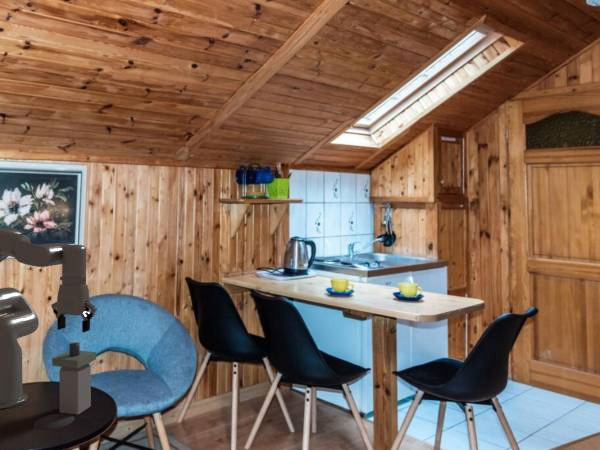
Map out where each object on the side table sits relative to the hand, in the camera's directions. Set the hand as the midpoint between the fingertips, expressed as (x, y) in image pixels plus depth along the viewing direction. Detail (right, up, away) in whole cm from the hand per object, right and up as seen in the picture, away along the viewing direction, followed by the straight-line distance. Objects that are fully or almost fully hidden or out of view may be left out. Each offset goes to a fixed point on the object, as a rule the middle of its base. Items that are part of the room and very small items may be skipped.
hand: (73, 330), depth 167 cm
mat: (-2, -29, -9) cm, 30 cm away
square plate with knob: (0, -11, 0) cm, 11 cm away
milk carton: (0, -29, +1) cm, 29 cm away
